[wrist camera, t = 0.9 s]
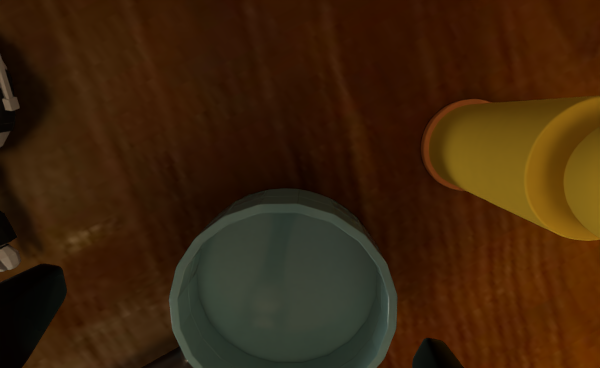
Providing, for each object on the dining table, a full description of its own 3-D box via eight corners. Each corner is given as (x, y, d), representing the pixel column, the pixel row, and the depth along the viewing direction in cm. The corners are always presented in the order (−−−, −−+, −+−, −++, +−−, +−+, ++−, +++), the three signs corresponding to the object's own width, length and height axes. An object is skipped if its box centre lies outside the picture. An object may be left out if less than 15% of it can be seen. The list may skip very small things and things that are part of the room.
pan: (379, 362, 24) (393, 409, 21) (200, 363, 25) (180, 410, 21) (384, 186, 22) (400, 201, 18) (184, 190, 22) (158, 206, 18)
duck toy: (439, 202, 22) (656, 348, 8) (406, 123, 21) (592, 140, 7) (533, 161, 21) (939, 245, 8) (504, 78, 20) (909, 2, 7)
